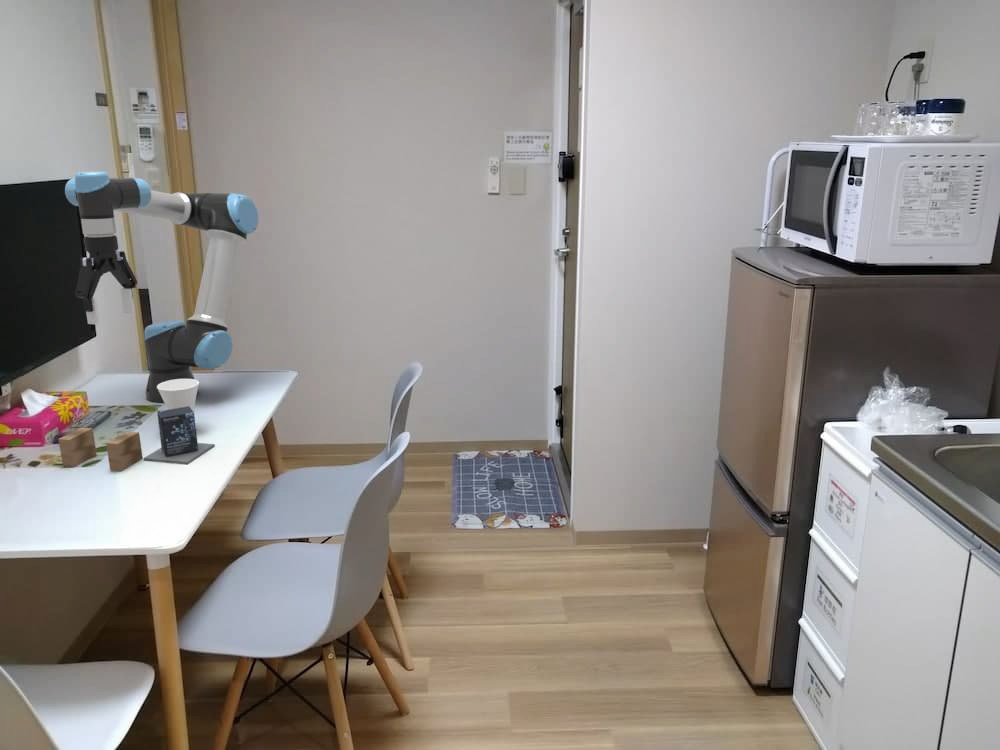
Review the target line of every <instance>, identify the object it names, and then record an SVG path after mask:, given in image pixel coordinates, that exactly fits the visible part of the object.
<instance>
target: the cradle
mask: <svg viewBox="0 0 1000 750" xmlns="http://www.w3.org/2000/svg"><path fill="white" fill-rule="evenodd" d="M57 439H58V445H59V446H58V447H59V451H60V457H61V462H62V466H63V467H71V468H74V467H76V466H79V465H80V464H82V463H84V462H86V461H87V460H89V459H91V458H93V457H95V456H97V447H96V441H95V436H94V430H93V428H92V427H89V428H88V427H80V428H78V429H76V430H74V431H71V432H70V433H68V434H66V435H63V436H62V437H60V438H57ZM141 443H142V442H141V437H140V432H139V431H129V430H128V431H126V432H124V433H122V434H120V435H119V436H116V437H115V438H113V439H111V440H109V441H107V442H106V443H105V445H106V452H107V457H108V458H107V459H108V463H109V471H113V472H123V471H125V470H127V469H128V468H129V467H131V466H133V465H135V464H136V463H138V462H140V461H141V460H144V459H143V458H144V457H143V450H142V444H141Z"/></svg>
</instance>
